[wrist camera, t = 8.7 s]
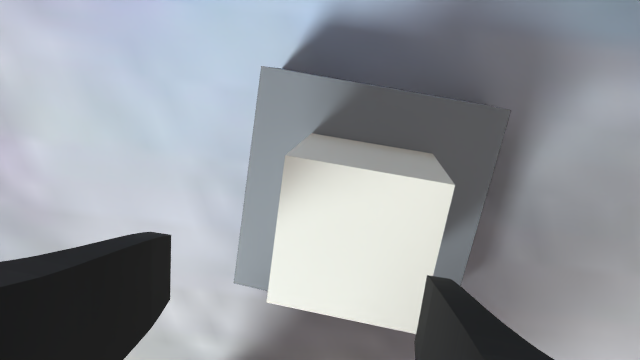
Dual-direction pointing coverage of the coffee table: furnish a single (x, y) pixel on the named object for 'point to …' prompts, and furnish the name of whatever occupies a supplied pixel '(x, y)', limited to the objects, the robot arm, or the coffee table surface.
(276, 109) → the gray block
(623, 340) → the coffee table surface
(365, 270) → the cream cube
